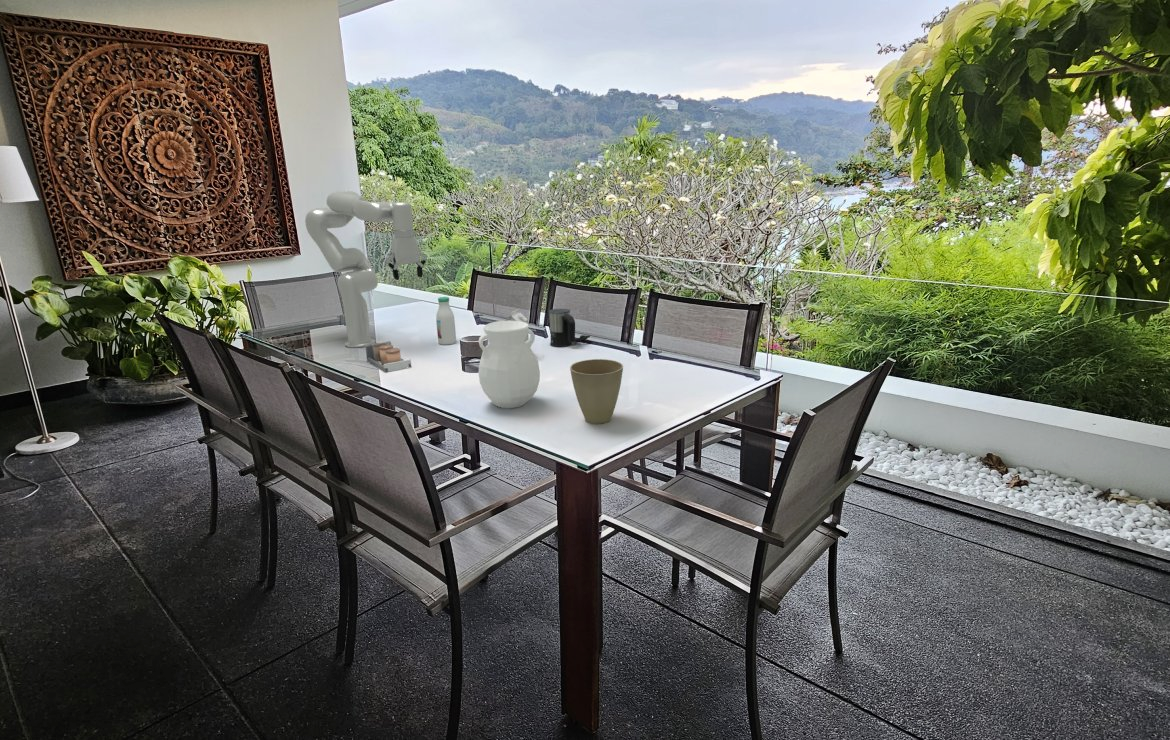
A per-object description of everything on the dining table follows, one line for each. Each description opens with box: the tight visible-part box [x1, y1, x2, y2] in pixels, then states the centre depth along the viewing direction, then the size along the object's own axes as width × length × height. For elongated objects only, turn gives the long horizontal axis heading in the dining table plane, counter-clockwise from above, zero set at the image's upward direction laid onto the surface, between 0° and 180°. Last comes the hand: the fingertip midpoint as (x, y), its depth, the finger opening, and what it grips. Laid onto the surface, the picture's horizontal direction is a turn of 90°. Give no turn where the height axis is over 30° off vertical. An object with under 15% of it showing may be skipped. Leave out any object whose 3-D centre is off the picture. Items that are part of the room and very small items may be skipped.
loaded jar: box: [385, 347, 401, 363], centre depth 232 cm, size 5×5×7 cm
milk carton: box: [504, 308, 530, 342], centre depth 239 cm, size 7×7×19 cm
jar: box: [379, 344, 394, 366], centre depth 237 cm, size 5×5×7 cm
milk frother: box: [548, 308, 591, 348], centre depth 260 cm, size 14×16×15 cm
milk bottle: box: [436, 296, 457, 346], centre depth 265 cm, size 8×8×20 cm
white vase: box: [478, 320, 541, 409], centre depth 188 cm, size 19×18×25 cm
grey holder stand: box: [365, 345, 412, 373], centre depth 236 cm, size 20×10×6 cm, turn 37°
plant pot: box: [569, 358, 624, 425], centre depth 174 cm, size 15×15×16 cm
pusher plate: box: [371, 340, 392, 363], centre depth 243 cm, size 8×7×7 cm
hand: (408, 278), depth 247 cm, fingers open, 9 cm apart
